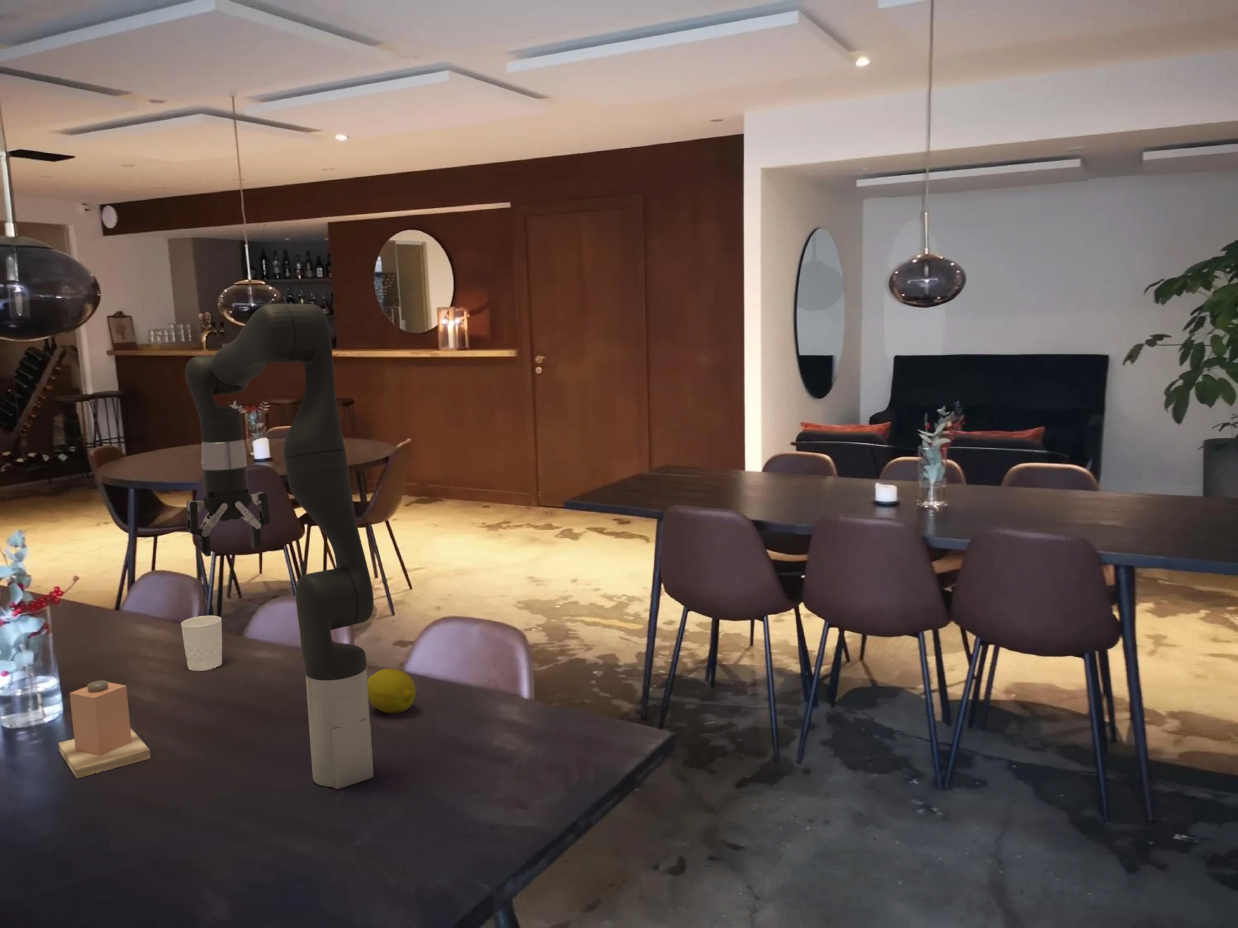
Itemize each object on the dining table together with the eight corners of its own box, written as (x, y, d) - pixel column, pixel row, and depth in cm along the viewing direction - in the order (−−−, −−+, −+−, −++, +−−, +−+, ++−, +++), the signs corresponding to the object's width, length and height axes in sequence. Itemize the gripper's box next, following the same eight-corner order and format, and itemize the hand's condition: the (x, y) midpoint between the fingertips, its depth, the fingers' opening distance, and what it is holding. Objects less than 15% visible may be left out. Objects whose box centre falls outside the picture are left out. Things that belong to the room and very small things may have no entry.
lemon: (426, 711, 179) (424, 670, 178) (390, 724, 174) (388, 681, 173) (392, 698, 187) (390, 657, 186) (357, 710, 181) (354, 668, 180)
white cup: (231, 660, 211) (228, 615, 210) (213, 672, 204) (209, 626, 202) (197, 659, 212) (193, 615, 211) (177, 672, 204) (173, 626, 203)
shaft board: (150, 758, 162) (145, 709, 161) (76, 778, 155) (71, 727, 154) (129, 733, 173) (124, 687, 172) (59, 751, 166) (54, 703, 165)
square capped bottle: (131, 741, 165) (125, 679, 164) (99, 755, 160) (93, 691, 159) (107, 736, 168) (101, 675, 166) (75, 750, 163) (68, 687, 161)
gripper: (190, 471, 170) (197, 561, 172) (270, 463, 179) (277, 549, 181) (177, 467, 176) (185, 555, 178) (256, 459, 185) (262, 543, 187)
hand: (231, 551), depth 180 cm, fingers open, 8 cm apart
